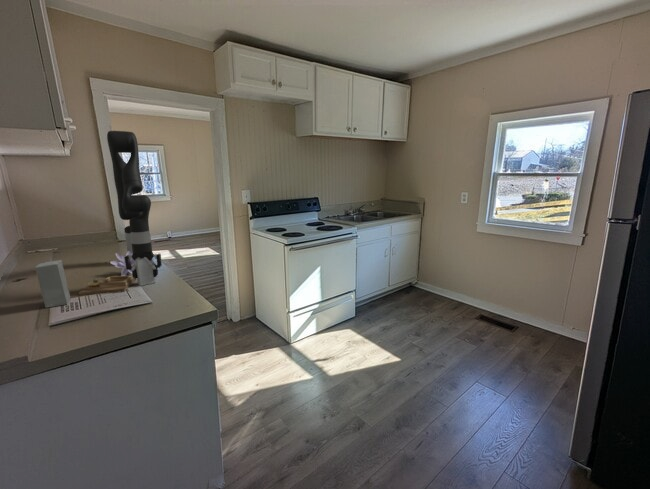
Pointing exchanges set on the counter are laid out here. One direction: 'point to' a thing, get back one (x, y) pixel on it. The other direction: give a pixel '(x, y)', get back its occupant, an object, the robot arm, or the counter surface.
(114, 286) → the carrier board
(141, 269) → the skincare box
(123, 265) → the water lily
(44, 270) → the skincare box
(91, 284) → the brass knob disc
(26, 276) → the counter surface
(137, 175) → the robot arm
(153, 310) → the counter surface
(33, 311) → the counter surface
